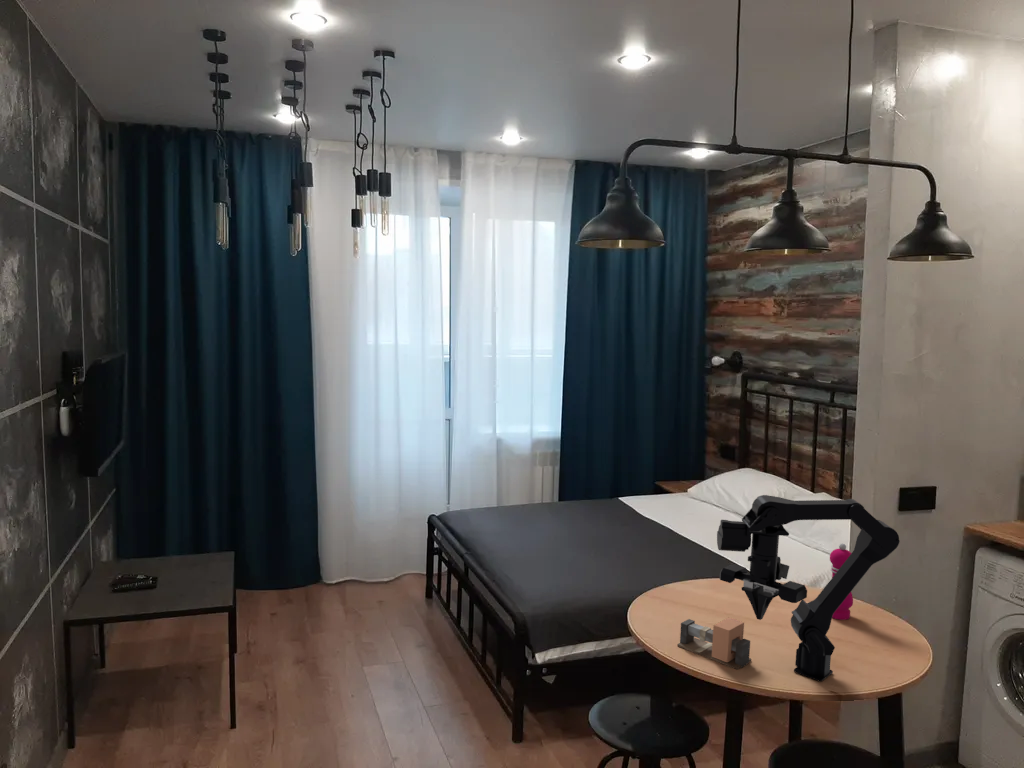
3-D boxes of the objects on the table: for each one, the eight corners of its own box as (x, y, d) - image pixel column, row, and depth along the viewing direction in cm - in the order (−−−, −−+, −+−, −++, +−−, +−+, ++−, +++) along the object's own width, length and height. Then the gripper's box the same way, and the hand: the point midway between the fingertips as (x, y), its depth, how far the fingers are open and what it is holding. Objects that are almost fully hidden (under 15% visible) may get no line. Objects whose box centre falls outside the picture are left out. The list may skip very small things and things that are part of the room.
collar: (742, 653, 183) (744, 622, 182) (727, 662, 178) (729, 630, 177) (726, 647, 185) (728, 617, 185) (711, 656, 180) (713, 625, 180)
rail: (751, 661, 181) (753, 639, 180) (738, 669, 176) (739, 647, 176) (690, 638, 192) (692, 617, 192) (676, 645, 188) (677, 624, 187)
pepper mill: (838, 608, 214) (843, 538, 212) (857, 618, 207) (863, 546, 205) (817, 611, 212) (822, 540, 210) (836, 622, 205) (842, 548, 203)
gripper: (820, 556, 173) (815, 623, 174) (745, 535, 186) (740, 598, 188) (797, 566, 165) (792, 636, 167) (720, 544, 178) (716, 609, 180)
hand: (759, 619), depth 175 cm, fingers closed
